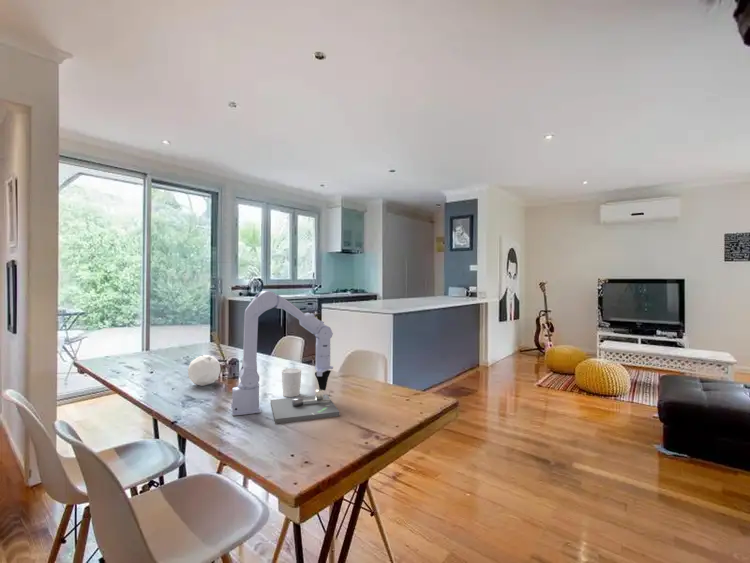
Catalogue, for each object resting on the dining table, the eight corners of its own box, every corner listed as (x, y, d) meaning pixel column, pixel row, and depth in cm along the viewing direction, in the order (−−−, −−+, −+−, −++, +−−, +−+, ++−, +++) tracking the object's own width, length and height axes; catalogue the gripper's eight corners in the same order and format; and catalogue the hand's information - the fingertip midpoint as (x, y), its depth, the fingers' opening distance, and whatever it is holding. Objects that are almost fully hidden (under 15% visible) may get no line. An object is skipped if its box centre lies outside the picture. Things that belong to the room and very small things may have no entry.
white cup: (296, 398, 150) (296, 373, 150) (278, 396, 151) (278, 372, 151) (304, 392, 157) (304, 368, 157) (286, 391, 159) (286, 367, 159)
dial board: (275, 423, 124) (275, 418, 124) (270, 403, 143) (270, 399, 143) (339, 416, 131) (339, 411, 131) (327, 398, 150) (327, 394, 150)
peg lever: (292, 406, 135) (293, 394, 135) (291, 403, 139) (291, 390, 138) (332, 402, 140) (332, 390, 140) (329, 399, 143) (329, 387, 143)
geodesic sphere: (233, 370, 169) (219, 345, 172) (210, 378, 157) (195, 350, 160) (214, 386, 174) (200, 361, 177) (190, 395, 161) (175, 368, 164)
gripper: (330, 359, 139) (329, 396, 139) (335, 351, 153) (335, 384, 154) (311, 359, 139) (311, 395, 139) (318, 351, 154) (318, 384, 154)
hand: (322, 389), depth 147 cm, fingers closed
